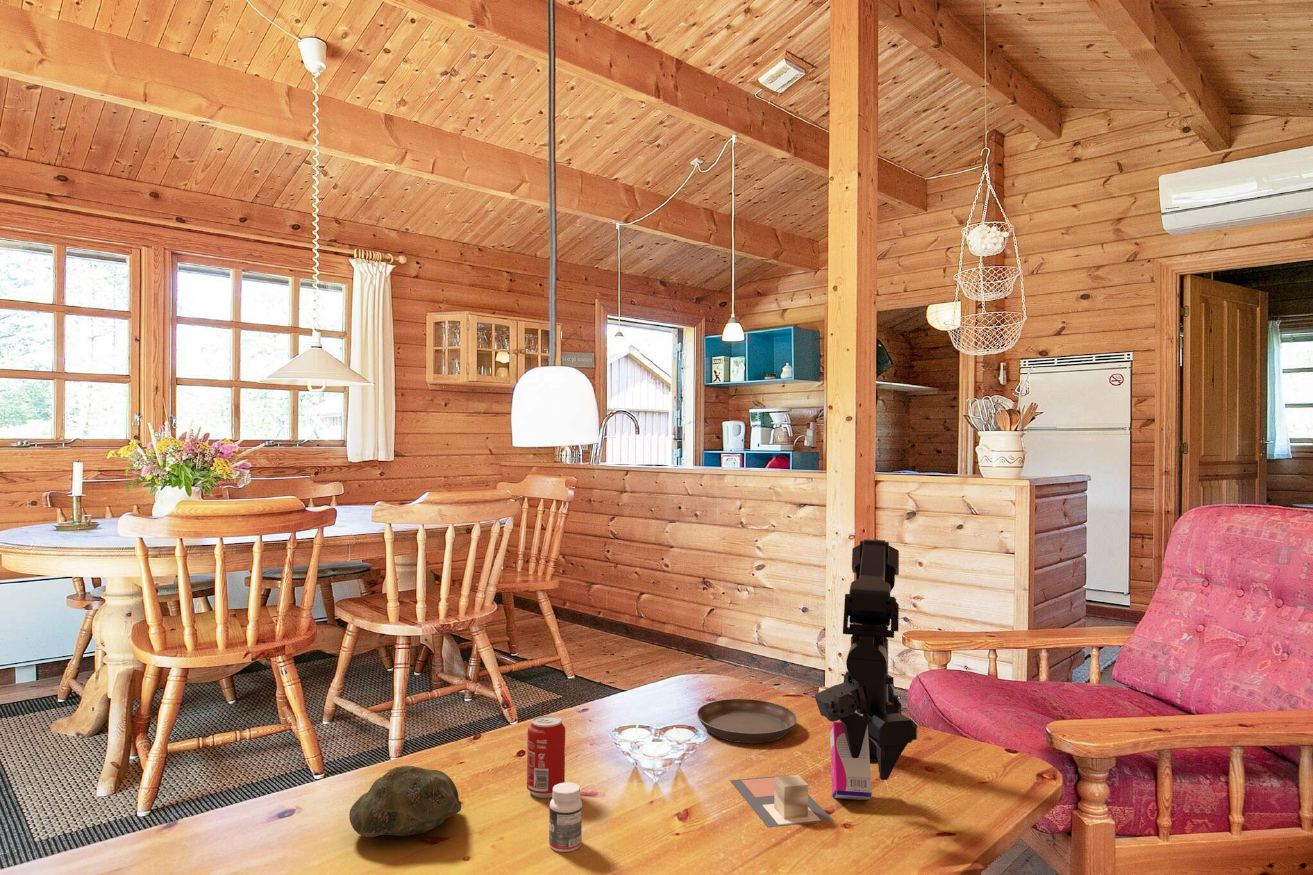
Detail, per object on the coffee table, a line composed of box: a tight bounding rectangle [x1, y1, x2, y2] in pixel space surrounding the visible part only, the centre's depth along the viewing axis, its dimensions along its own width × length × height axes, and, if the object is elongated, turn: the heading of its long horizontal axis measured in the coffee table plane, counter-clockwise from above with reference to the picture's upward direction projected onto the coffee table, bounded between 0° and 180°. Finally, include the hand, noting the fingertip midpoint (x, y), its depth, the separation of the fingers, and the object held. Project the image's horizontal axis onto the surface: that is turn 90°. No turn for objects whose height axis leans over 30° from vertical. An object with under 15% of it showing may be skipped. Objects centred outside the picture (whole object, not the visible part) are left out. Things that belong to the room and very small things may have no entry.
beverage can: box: [526, 715, 566, 799], centre depth 137 cm, size 6×6×12 cm
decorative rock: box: [348, 765, 462, 838], centre depth 123 cm, size 15×16×10 cm
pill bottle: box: [548, 781, 583, 853], centre depth 119 cm, size 5×5×8 cm
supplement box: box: [829, 721, 873, 801], centre depth 136 cm, size 6×6×12 cm
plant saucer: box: [696, 698, 798, 744], centre depth 170 cm, size 21×21×3 cm
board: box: [729, 774, 835, 828], centre depth 134 cm, size 11×18×1 cm, turn 14°
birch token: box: [774, 774, 809, 819], centre depth 129 cm, size 4×4×5 cm
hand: (869, 768), depth 128 cm, fingers open, 9 cm apart
